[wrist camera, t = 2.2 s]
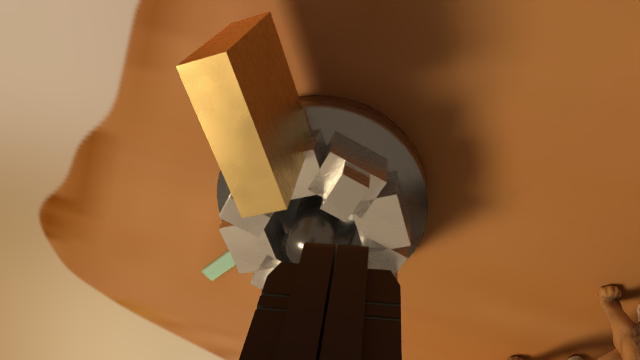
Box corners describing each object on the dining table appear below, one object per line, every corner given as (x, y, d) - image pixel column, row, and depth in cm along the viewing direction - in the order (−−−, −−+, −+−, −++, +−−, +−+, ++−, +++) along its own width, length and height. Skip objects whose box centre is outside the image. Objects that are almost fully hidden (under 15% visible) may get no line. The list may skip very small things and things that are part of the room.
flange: (374, 59, 27) (368, 99, 21) (456, 236, 31) (467, 305, 26) (190, 143, 31) (146, 194, 25) (286, 290, 35) (266, 358, 30)
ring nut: (422, 265, 30) (427, 360, 24) (269, 288, 32) (238, 379, 26) (348, -13, 23) (330, 21, 17) (162, 44, 25) (87, 91, 19)
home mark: (238, 243, 34) (236, 246, 34) (248, 253, 34) (247, 256, 34) (202, 268, 35) (201, 271, 35) (213, 278, 36) (212, 280, 35)
